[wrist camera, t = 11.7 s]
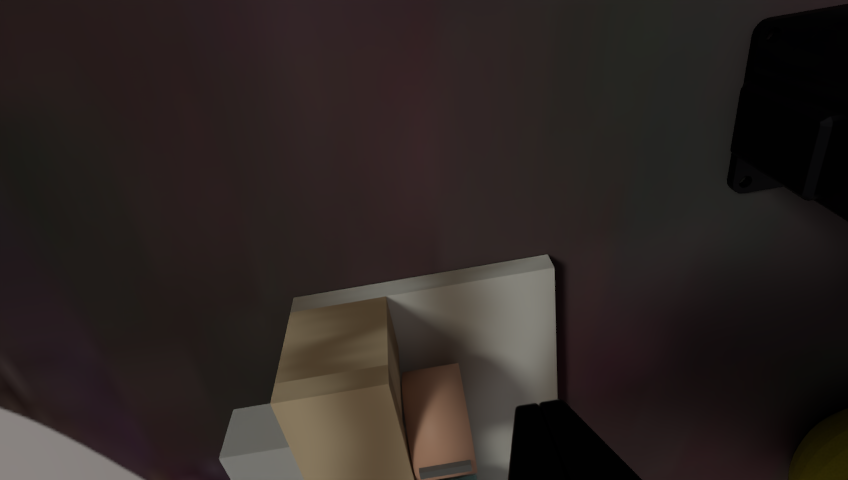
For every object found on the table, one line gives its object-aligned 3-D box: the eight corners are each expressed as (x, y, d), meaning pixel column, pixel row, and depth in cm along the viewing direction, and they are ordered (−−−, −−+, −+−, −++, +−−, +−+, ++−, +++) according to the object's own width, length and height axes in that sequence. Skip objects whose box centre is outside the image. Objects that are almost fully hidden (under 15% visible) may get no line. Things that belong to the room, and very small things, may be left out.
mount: (547, 254, 22) (597, 348, 17) (555, 499, 31) (588, 606, 26) (293, 297, 22) (270, 404, 17) (376, 529, 32) (376, 641, 27)
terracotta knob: (454, 341, 22) (470, 429, 19) (465, 409, 25) (482, 500, 21) (232, 379, 23) (202, 474, 19) (263, 443, 25) (242, 540, 21)
